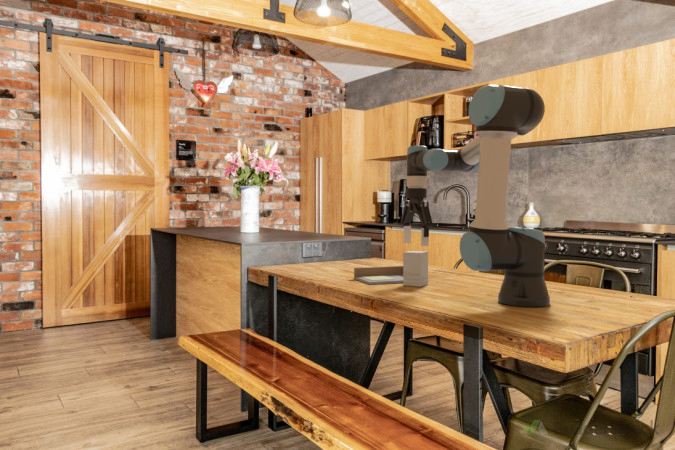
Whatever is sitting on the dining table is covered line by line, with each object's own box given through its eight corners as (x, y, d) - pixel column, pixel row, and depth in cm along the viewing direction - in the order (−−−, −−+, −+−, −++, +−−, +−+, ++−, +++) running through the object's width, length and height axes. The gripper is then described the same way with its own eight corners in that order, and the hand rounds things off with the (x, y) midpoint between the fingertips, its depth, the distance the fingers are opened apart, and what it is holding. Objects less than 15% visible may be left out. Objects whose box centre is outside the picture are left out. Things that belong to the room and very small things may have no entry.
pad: (395, 279, 207) (395, 279, 207) (371, 280, 203) (371, 280, 203) (384, 276, 216) (384, 275, 216) (361, 277, 213) (361, 276, 213)
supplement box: (428, 284, 201) (429, 251, 201) (420, 287, 195) (421, 252, 194) (410, 282, 205) (411, 250, 205) (402, 285, 199) (402, 251, 198)
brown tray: (421, 281, 208) (421, 270, 208) (370, 284, 200) (370, 272, 200) (402, 276, 223) (402, 265, 222) (354, 279, 215) (354, 267, 215)
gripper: (443, 187, 188) (442, 247, 189) (409, 188, 211) (408, 241, 213) (424, 187, 186) (423, 247, 187) (392, 188, 209) (391, 241, 210)
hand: (415, 244), depth 200 cm, fingers open, 13 cm apart
